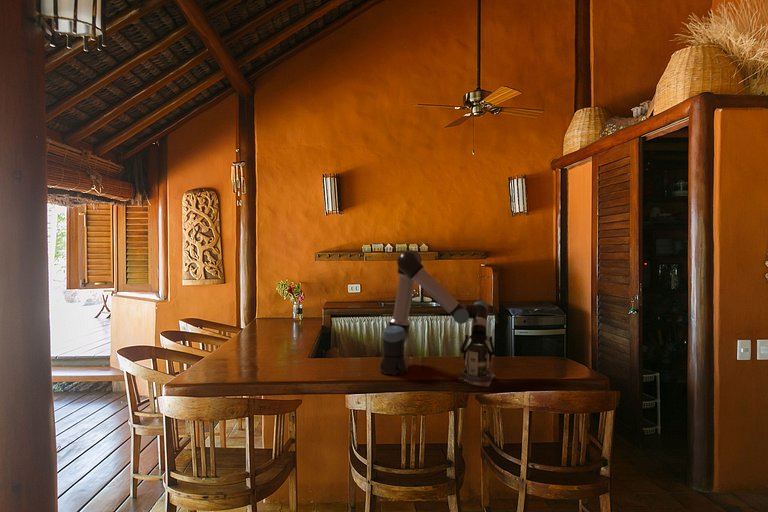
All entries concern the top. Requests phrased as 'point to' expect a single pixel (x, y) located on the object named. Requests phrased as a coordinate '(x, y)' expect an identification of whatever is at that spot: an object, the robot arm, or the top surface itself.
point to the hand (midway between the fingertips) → (476, 365)
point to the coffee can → (477, 360)
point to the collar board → (478, 378)
